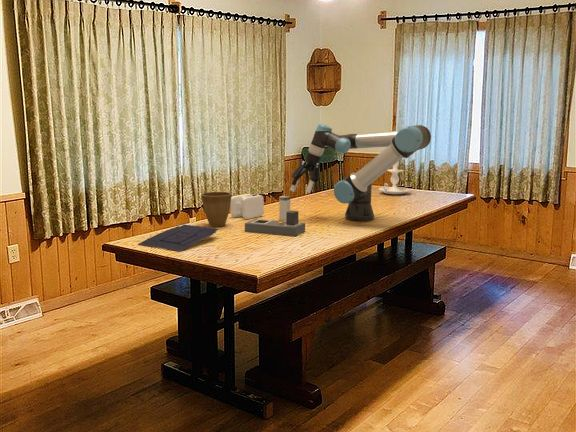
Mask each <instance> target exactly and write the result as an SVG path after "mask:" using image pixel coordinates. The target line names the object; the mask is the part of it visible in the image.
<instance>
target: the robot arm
mask: <svg viewBox="0 0 576 432" xmlns="http://www.w3.org/2000/svg"><path fill="white" fill-rule="evenodd" d="M431 140H432V134H431V131H430V129H428V127H426V126H424V125H422V124H421V125H420V124H416V125H406V126H404V127H402V128H400V129H399V130H390V131H389V130H388V131H376V132H364V133H363V132H362V133H347V134H342V135H341V134H337V133H334V132H333V128H332V127H331V126H329V125H327V124H323V123H318V124H317V126H316V129H315V131H314V134H313V137H312V140H311V142H310V145H309V147H308V151H307V152H306V156H305V159H306V160H305V161H304V160H301V161H300V163H299V165H298V166H297V168H296V169H295V171H294V172H293V173H292V175H291V178H293V180H292V183H291V185H290V188H289V191H291V192H293V193H295V192H296V191H297V190H296V189H297V187H298V184H299V182H300V181H299V179H300V178H301V177H303V175H305V174H306V172H309V173H310V180H309V181H308V184H307V186H306V189H305V192H306V193H307V194H311V192H312V190H313V187H314V185H315V183H318V181H319V176H320V167H321V164H320V161H321V159H322V156H323V154H324V151H325V150H326V149H325V148H326V147H327V148H330V149H332V150H333V151H335V152H337V153H341V154H344V155H345V154H346V153H349V150H351V149H352V150H354V149H368V148H369V149H370V148H372V149H373V148H385V149H383V150H382V151H381V152H380V153H378V154H377V155H376V156H375V157H374V158H372V159H371V160H370V161H369V162H368V163H367V164H365V165H364V166H363V167H362V168H361V169H359V170H358V171H357V172H351V173H350V174H349V175H348V176H346V177H345V178H344V179H342V180H339V181H338V182H336V183H335V185H334V186H333V195H334V198H335V199H336V200H337V201H338V202H339V203H341V204H348V205H347V206H346V207H347V208H346V211H345V214H344V219H345V220H349V221H355V222H367V221H369V222H370V221H373V220H374V219H375V212H374V209H373V206H372V186H373V183H374V182H375V181H376V180H377V179H378V178H380V177H381V176H382V175H384V174H385V172H388V171H387V170H389V169H392V168H393V165H394V164H396V163H397V162H398V163H399V161H401V160H402V159H408V158H409V157H411V156H412V155H413V154H414V153H416V152H417V151H419V150H422V149H425V148H427V147H428V146H429V145H430V143H431Z"/></svg>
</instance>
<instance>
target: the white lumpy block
mask: <svg viewBox="0 0 576 432" xmlns="http://www.w3.org/2000/svg"><path fill="white" fill-rule="evenodd" d="M264 200H265V199H264V196H263V195H260V194H259V195H253V194H251V193H243V194H238V195H232V196H231V203H230V216H231V217H233V218H234V217H235V218H240V217H241V216H242V218H244V219H246V220H251V219H252V218H253V219H254V218H256V217H257V218H260V217H262V216H263V215H264V212H265V211H264Z"/></svg>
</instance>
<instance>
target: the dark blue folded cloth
mask: <svg viewBox="0 0 576 432" xmlns="http://www.w3.org/2000/svg"><path fill="white" fill-rule="evenodd" d="M218 230H220V228H214V227H207V226H206V227H205V226H197V225H191V224H182V225H180V226H178V225H177V226H174V227H172V228H169V229H166V230H164V231H161V232H160V233H157V234H155V235H153V236H151V237H148V238H146V239H144V240H143V241H141V242H139V243H137V246H146V247H153V248H159V249H163V250H164V249H165V250H169V251H176V252H182V251H183V250H186V249H188V248H189V247H192V246H193V245H195V244H197V243H199V242H200V241H203V240H204V239H206V238H209V237H211V236H213V235H214V234H216V233H217V231H218Z"/></svg>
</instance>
